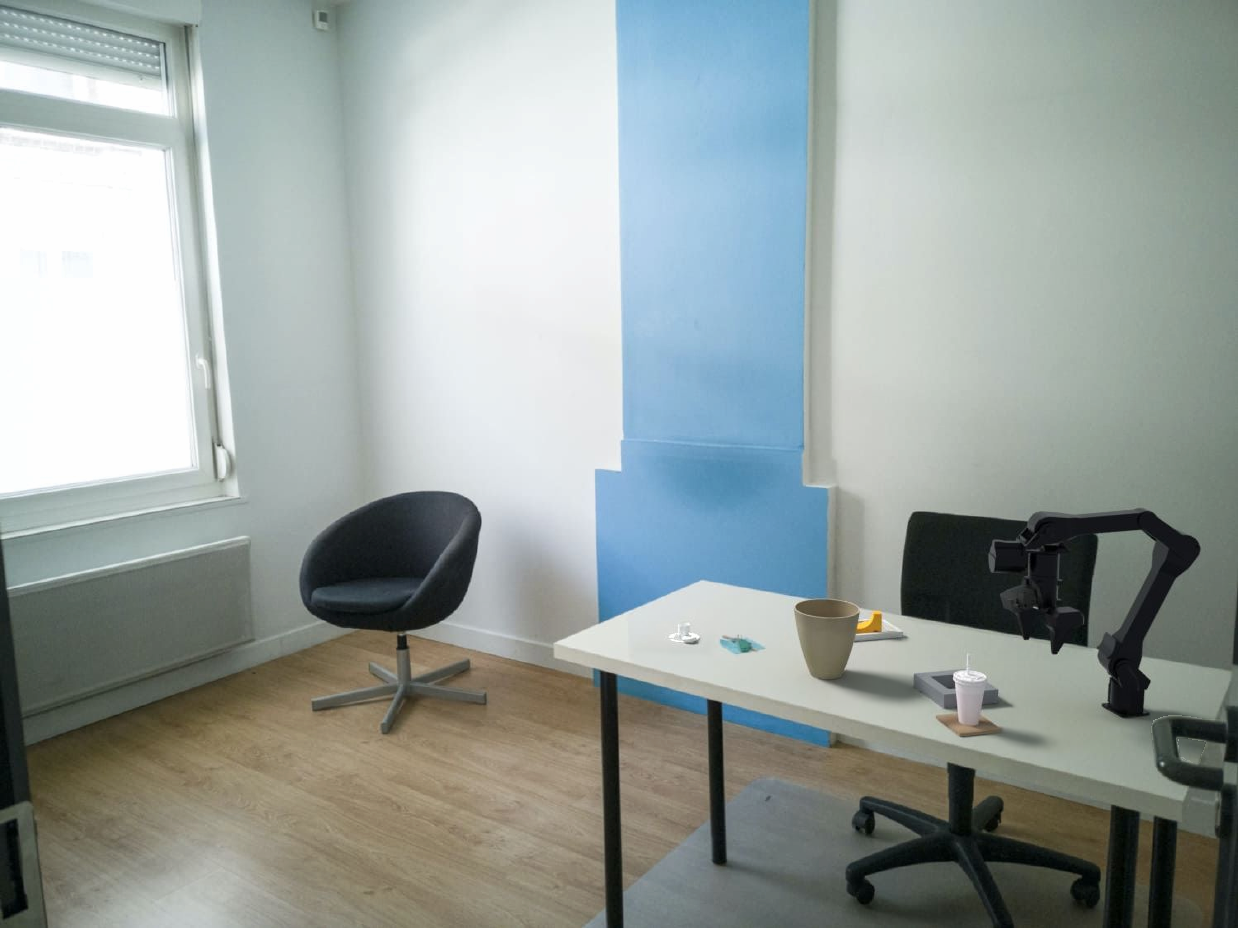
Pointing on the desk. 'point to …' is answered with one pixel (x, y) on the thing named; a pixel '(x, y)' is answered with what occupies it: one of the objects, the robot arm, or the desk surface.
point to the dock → (938, 683)
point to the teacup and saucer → (685, 634)
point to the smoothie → (969, 694)
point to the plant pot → (826, 634)
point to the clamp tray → (892, 632)
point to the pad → (965, 730)
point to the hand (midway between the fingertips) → (1039, 646)
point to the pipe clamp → (871, 624)
